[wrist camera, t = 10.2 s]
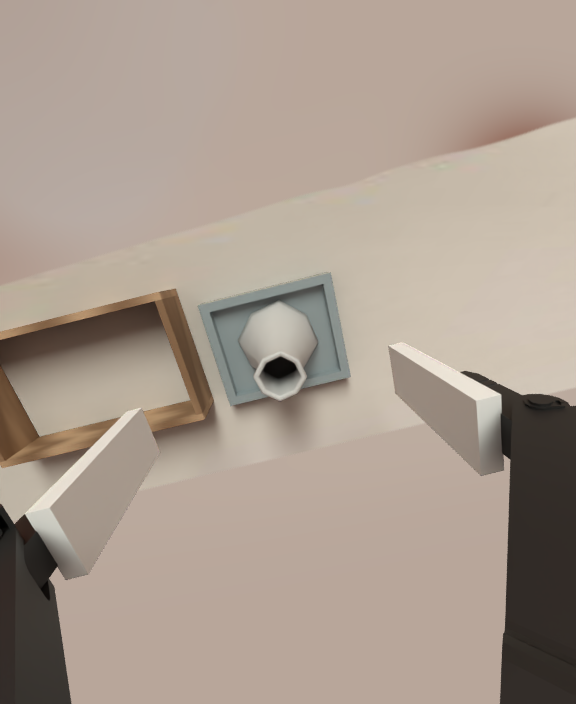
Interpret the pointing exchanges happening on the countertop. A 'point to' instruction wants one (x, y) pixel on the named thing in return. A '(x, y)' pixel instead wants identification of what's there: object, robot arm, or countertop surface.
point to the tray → (233, 312)
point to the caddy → (25, 445)
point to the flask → (278, 348)
